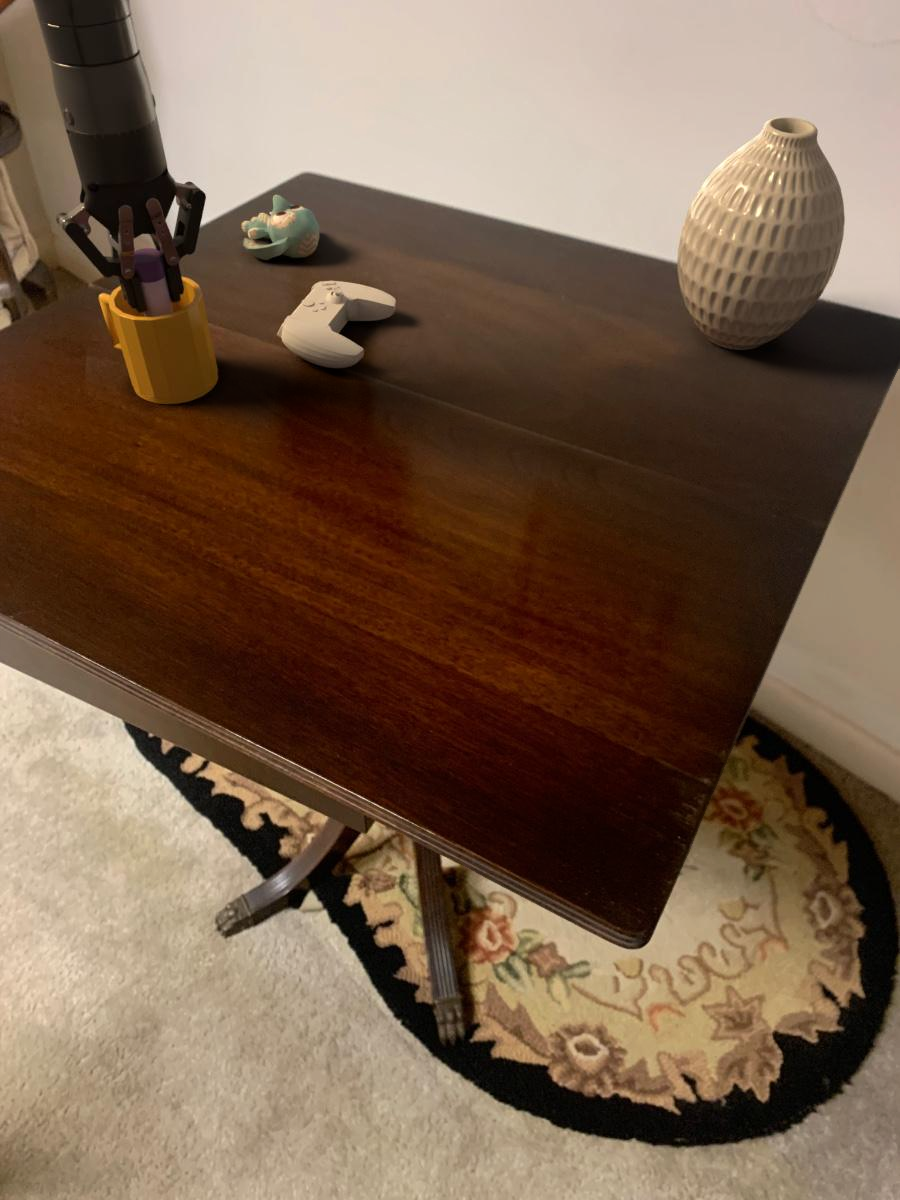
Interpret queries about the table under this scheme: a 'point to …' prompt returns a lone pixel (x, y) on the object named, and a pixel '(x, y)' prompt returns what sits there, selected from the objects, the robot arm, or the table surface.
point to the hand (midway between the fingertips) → (156, 303)
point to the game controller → (333, 322)
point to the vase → (761, 237)
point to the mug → (164, 346)
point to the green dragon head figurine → (282, 231)
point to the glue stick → (153, 282)
